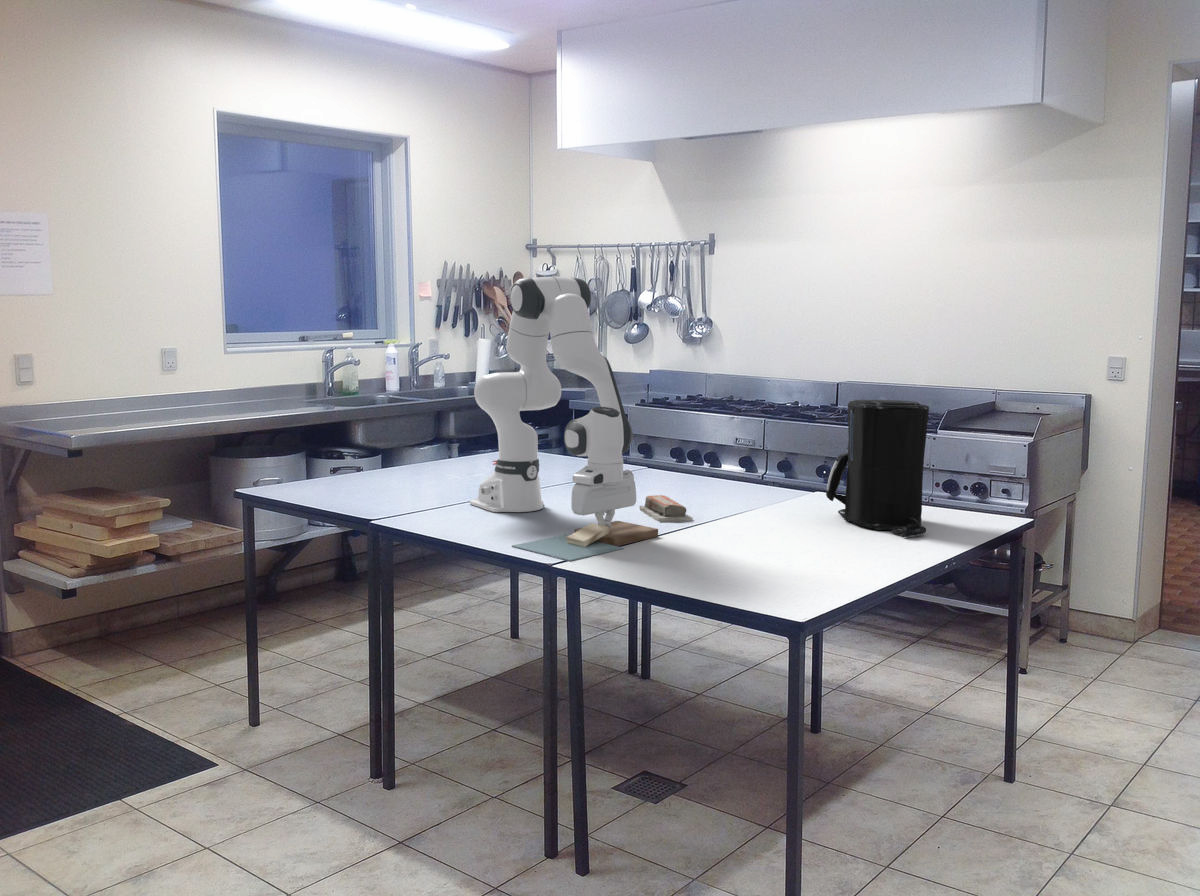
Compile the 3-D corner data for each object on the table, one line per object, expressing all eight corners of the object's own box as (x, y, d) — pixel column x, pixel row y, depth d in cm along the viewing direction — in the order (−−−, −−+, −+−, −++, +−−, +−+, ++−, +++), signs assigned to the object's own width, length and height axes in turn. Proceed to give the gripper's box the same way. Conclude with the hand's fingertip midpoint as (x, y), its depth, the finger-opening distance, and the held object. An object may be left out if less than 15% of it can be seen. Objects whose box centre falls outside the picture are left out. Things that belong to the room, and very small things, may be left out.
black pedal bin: (876, 510, 302) (882, 394, 298) (965, 531, 274) (972, 404, 270) (816, 517, 291) (821, 397, 287) (902, 540, 263) (909, 407, 259)
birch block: (584, 547, 250) (583, 541, 249) (567, 542, 254) (566, 537, 254) (609, 532, 256) (608, 526, 255) (592, 528, 260) (591, 523, 260)
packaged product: (638, 494, 298) (671, 493, 301) (638, 511, 299) (671, 509, 301) (659, 506, 281) (693, 504, 284) (658, 523, 282) (693, 522, 284)
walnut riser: (574, 537, 262) (574, 529, 261) (617, 528, 273) (617, 520, 273) (615, 546, 252) (615, 538, 252) (658, 536, 264) (658, 528, 263)
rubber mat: (511, 546, 251) (511, 545, 251) (565, 535, 264) (565, 534, 263) (570, 561, 237) (570, 560, 237) (623, 548, 250) (623, 547, 250)
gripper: (624, 467, 267) (623, 520, 269) (567, 476, 252) (567, 532, 254) (642, 470, 262) (641, 524, 264) (586, 479, 248) (585, 536, 250)
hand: (604, 528), depth 259 cm, fingers closed
